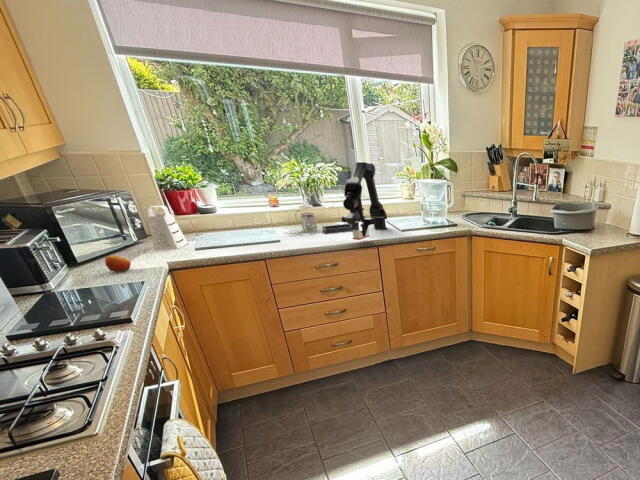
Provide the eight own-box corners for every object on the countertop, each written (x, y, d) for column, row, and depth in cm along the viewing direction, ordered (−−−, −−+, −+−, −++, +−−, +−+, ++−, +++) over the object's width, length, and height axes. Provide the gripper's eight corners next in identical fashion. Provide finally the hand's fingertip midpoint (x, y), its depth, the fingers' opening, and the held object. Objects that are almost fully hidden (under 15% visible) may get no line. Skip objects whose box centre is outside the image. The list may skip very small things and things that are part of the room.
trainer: (363, 235, 234) (362, 227, 232) (370, 236, 233) (368, 228, 231) (352, 239, 227) (351, 230, 224) (359, 240, 225) (357, 231, 223)
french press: (321, 230, 251) (312, 187, 239) (300, 233, 245) (290, 188, 233) (317, 227, 258) (308, 185, 246) (297, 229, 253) (287, 186, 240)
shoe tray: (349, 227, 260) (349, 223, 259) (353, 230, 254) (353, 226, 253) (322, 230, 252) (322, 226, 251) (326, 233, 246) (325, 229, 245)
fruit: (98, 270, 174) (102, 252, 175) (120, 274, 182) (124, 257, 182) (110, 272, 172) (114, 254, 172) (132, 277, 180) (136, 259, 180)
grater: (177, 248, 211) (162, 208, 201) (154, 249, 209) (137, 208, 199) (187, 243, 220) (173, 204, 210) (166, 243, 218) (150, 204, 208)
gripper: (332, 207, 218) (337, 237, 225) (361, 210, 212) (365, 241, 220) (346, 204, 227) (351, 233, 235) (374, 207, 222) (378, 236, 229)
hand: (361, 235), depth 229 cm, fingers closed on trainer, 4 cm apart
